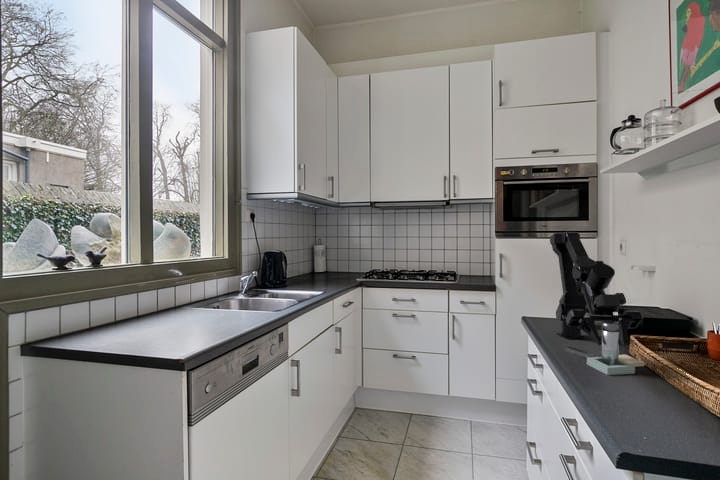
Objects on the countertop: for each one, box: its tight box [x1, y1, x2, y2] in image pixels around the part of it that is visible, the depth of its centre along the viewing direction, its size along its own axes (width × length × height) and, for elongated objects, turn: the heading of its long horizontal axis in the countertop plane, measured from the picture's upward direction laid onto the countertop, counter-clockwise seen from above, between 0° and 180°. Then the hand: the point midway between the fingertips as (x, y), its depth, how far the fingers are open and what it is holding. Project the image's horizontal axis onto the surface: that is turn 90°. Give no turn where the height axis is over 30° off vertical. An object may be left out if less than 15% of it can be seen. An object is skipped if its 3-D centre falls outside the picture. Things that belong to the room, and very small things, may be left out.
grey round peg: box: [601, 321, 620, 366], centre depth 105 cm, size 4×4×13 cm
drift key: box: [565, 346, 595, 359], centre depth 118 cm, size 8×2×1 cm, turn 25°
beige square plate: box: [619, 353, 646, 368], centre depth 110 cm, size 7×7×1 cm
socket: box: [586, 356, 636, 376], centre depth 106 cm, size 8×8×2 cm
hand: (612, 345), depth 104 cm, fingers open, 6 cm apart
